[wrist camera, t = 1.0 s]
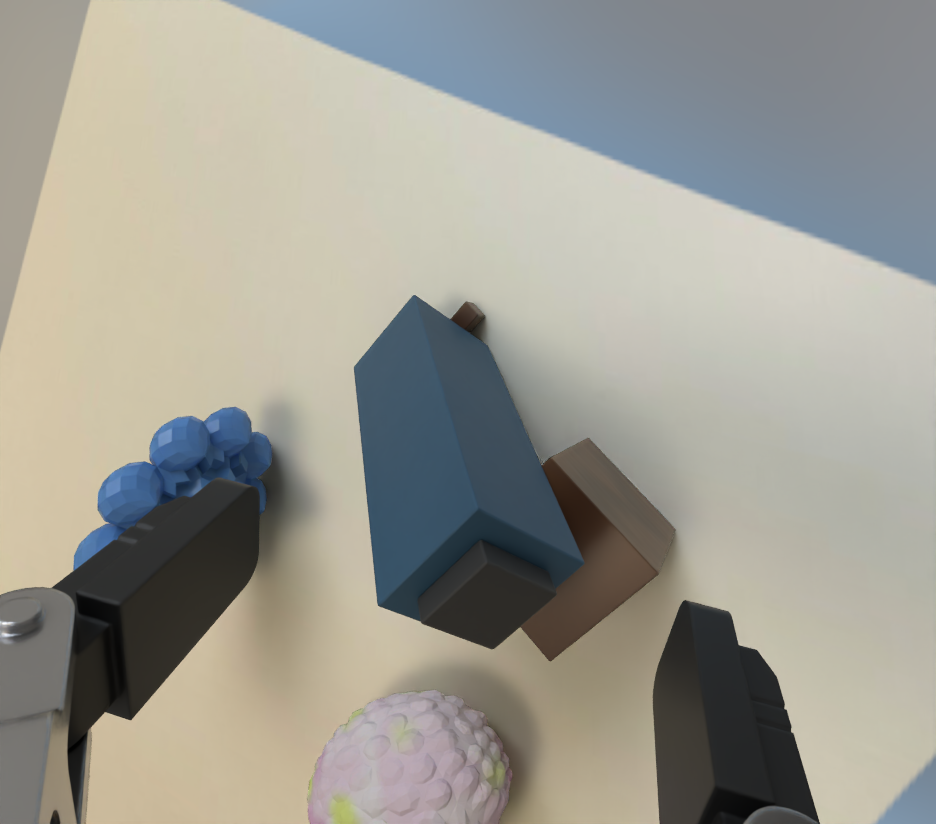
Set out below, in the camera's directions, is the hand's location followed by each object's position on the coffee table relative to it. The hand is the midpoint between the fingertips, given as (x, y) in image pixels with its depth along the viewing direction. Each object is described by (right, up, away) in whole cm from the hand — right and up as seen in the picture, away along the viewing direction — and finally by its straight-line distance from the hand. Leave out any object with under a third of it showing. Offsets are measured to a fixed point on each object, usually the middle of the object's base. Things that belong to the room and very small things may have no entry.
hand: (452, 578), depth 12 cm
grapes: (-12, -2, +28) cm, 31 cm away
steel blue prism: (-1, +1, +15) cm, 15 cm away
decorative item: (-1, -16, +25) cm, 30 cm away
